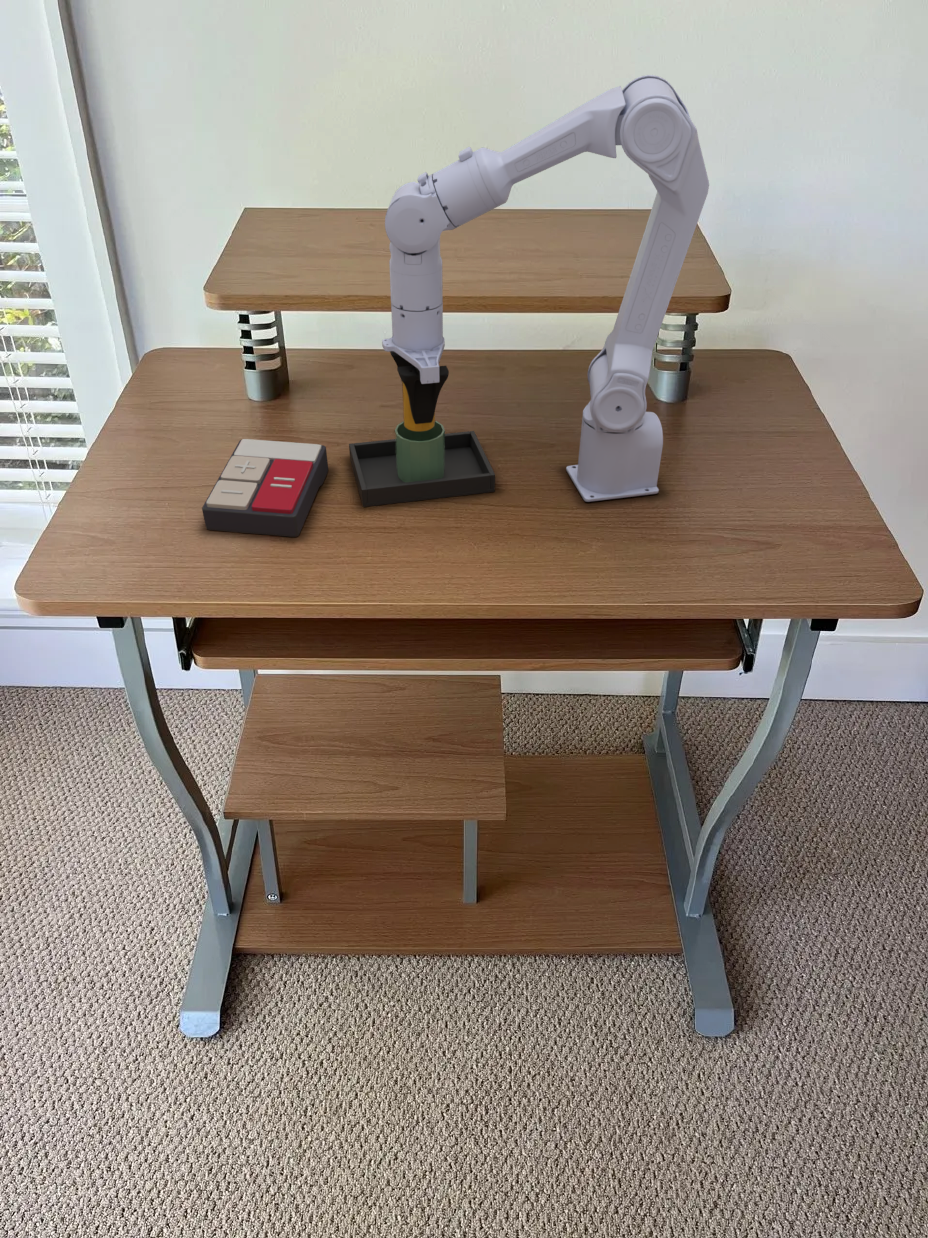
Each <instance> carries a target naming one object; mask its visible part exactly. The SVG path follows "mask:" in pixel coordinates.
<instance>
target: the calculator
mask: <svg viewBox="0 0 928 1238" xmlns="http://www.w3.org/2000/svg"><path fill="white" fill-rule="evenodd" d="M327 454H328V453H327V446H326V445H323V444H318V443H306V442H293V441H292V442H291V441H279V440H265V439H252V438H243V439H240V440H239V441H238V443H237V444H236V446H235V448H234V450H233V452H232V454H231V455H230V457H229V459H228V460H227V462H226V464H225V465H224V468H223V469H222V471H221V473H220V474H219V477H218V479H217V480H216V482H215V484H214V485H213V487H212V489H211V491H210V493H209V494H208V496H207V498H206V500H205V502H204V503H203V506H202V507H201V510H202V515H203V520H204V525H205V528H206V530H209V531H216V532H217V531H219V532H220V531H221V532H229V533H239V534H240V533H241V534H253V535H254V534H255V535H265V536H278V537H290V538H297V537H299V536H300V535H301V531H302V529H303V527H304V524H305V523H306V519H307V517H308V515H309V512H310V510H311V507H312V506H313V503H314V500H315V499H316V496H317V493H318V491H319V489H320V487H322V486H323V484H324V482H325V479H326V477H327V475H328V472H329V462H328V455H327Z"/></svg>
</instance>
